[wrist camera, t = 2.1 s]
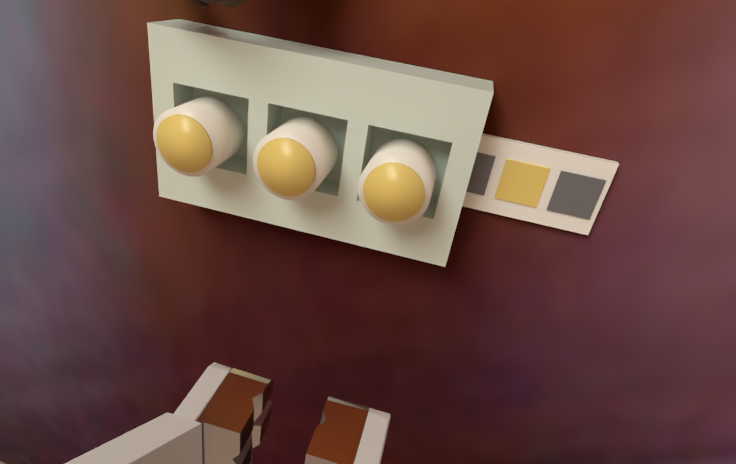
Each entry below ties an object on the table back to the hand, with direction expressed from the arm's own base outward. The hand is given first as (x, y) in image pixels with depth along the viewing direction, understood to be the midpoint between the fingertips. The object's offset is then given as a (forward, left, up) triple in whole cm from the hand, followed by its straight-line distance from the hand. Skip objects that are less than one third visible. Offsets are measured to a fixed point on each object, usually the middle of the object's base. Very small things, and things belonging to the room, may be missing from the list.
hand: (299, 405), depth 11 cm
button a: (0, 0, -17) cm, 17 cm away
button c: (+11, 0, -16) cm, 20 cm away
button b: (+6, 0, -16) cm, 17 cm away
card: (-6, 0, -19) cm, 20 cm away
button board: (+6, 0, -19) cm, 20 cm away
